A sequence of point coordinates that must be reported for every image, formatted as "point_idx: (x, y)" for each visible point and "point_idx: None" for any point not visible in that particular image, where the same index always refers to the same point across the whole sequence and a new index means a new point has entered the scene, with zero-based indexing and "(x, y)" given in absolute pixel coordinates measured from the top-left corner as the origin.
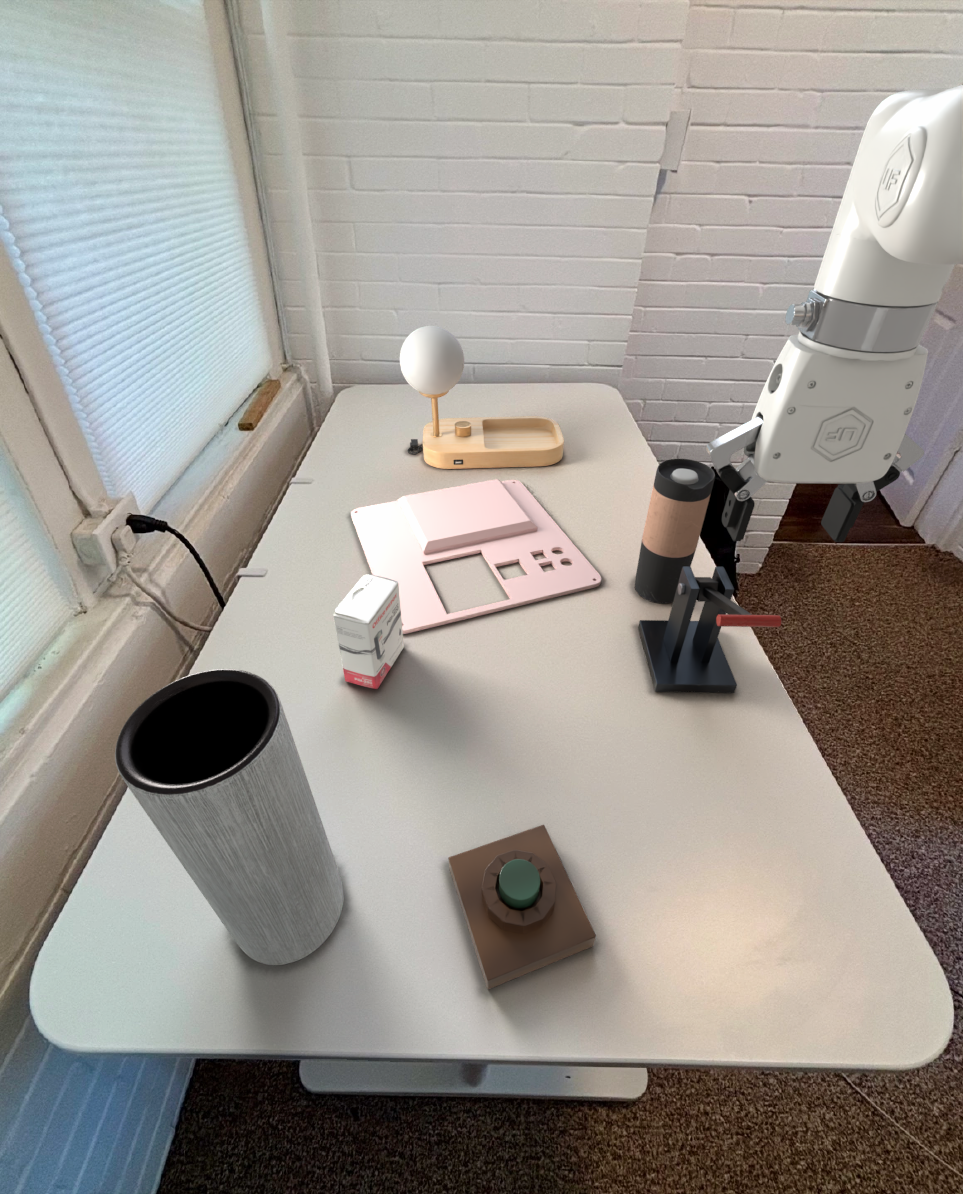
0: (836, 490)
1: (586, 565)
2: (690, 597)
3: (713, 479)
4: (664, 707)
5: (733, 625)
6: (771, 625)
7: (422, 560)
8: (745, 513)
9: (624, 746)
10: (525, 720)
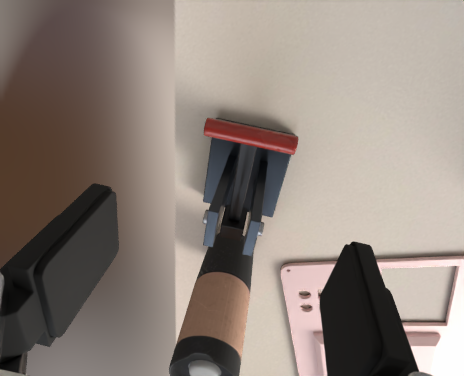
0: (62, 328)
1: (287, 287)
2: (260, 213)
3: (176, 361)
4: (295, 114)
5: (277, 132)
6: (220, 120)
7: (445, 327)
8: (390, 319)
9: (363, 72)
10: (451, 125)
